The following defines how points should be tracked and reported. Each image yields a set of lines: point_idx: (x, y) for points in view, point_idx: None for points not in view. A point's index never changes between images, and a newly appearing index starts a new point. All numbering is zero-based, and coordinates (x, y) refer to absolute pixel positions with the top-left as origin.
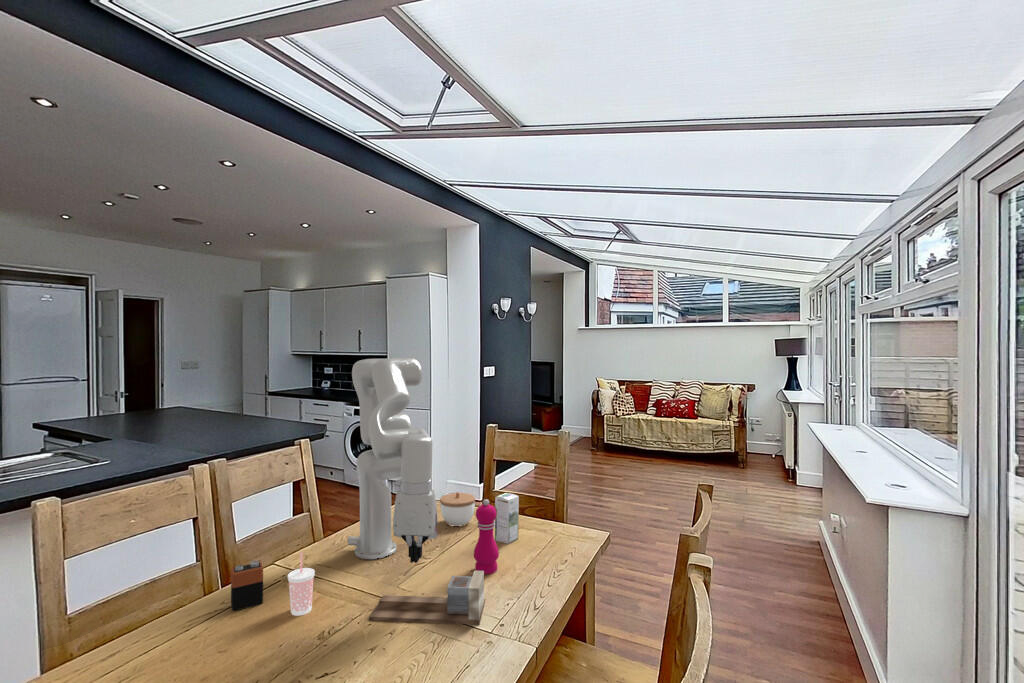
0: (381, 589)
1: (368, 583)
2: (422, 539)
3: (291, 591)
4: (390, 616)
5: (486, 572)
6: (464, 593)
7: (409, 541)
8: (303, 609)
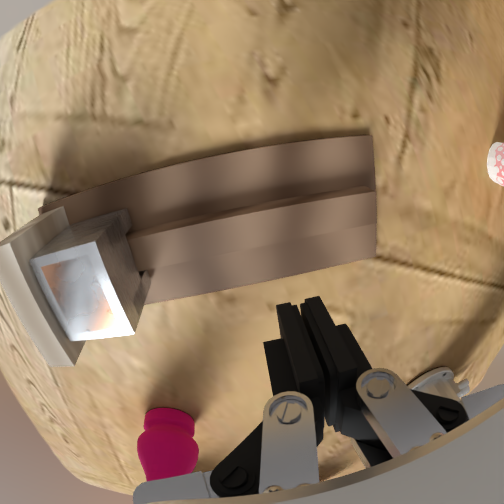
0: (387, 290)
1: (420, 302)
2: (263, 458)
3: None
4: (310, 147)
5: (156, 410)
6: (49, 248)
7: (385, 402)
8: (499, 148)
